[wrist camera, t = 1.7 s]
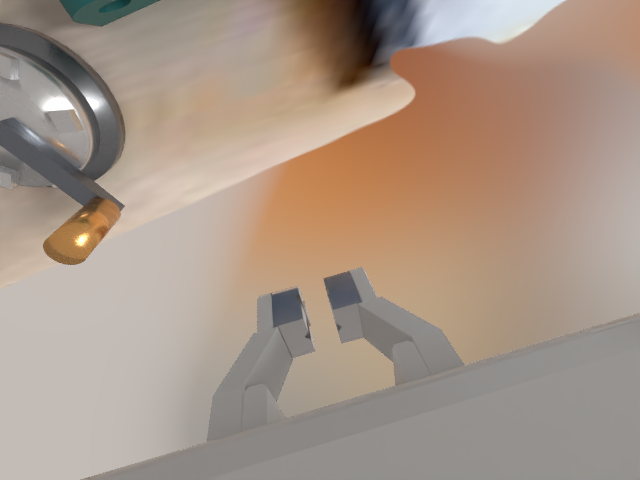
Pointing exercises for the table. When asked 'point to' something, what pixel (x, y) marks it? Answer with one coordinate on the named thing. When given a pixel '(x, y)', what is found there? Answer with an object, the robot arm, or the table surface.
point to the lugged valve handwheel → (52, 148)
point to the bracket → (102, 9)
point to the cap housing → (86, 83)
